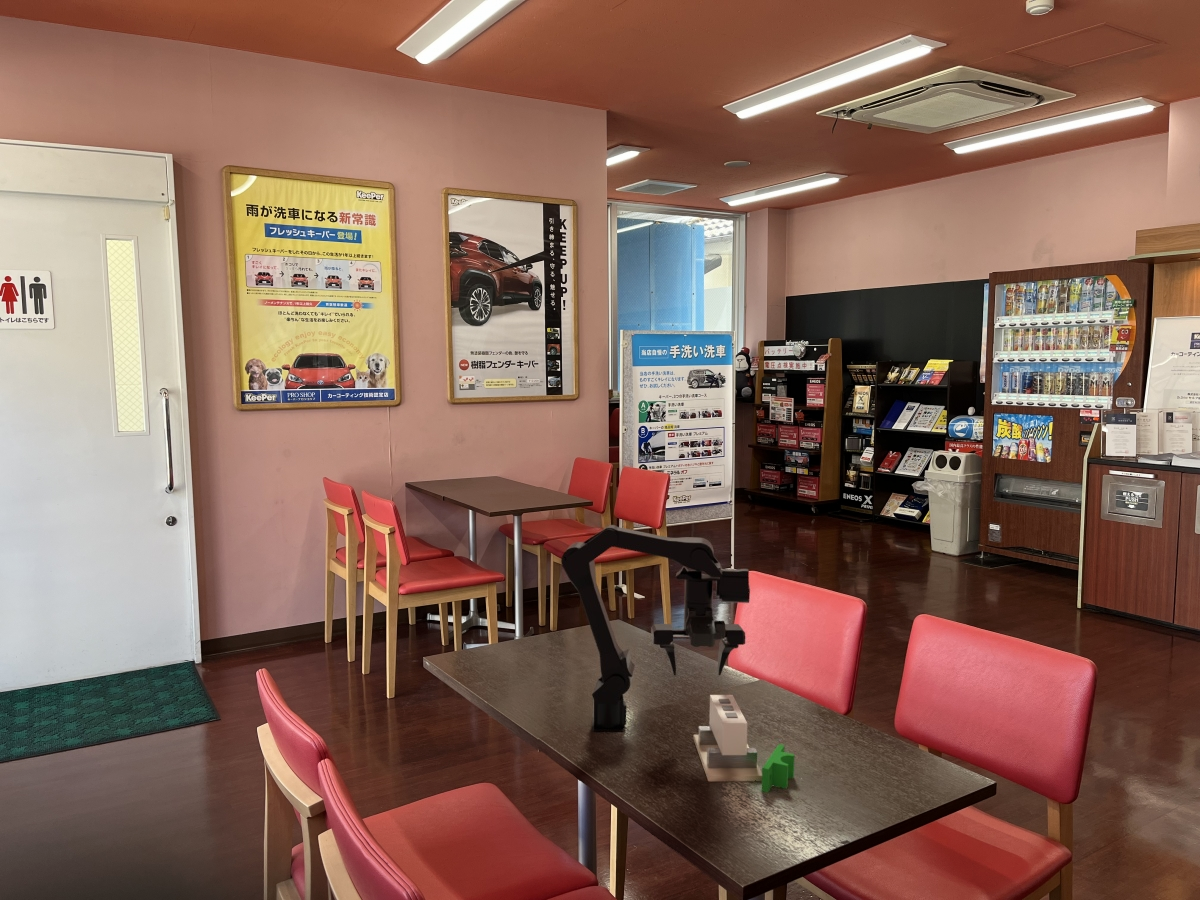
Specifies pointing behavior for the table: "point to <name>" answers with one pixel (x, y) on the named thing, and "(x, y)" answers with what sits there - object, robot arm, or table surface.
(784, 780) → the pipe clamp
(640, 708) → the table surface
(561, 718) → the table surface
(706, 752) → the stand
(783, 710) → the table surface
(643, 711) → the table surface
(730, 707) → the power strip
